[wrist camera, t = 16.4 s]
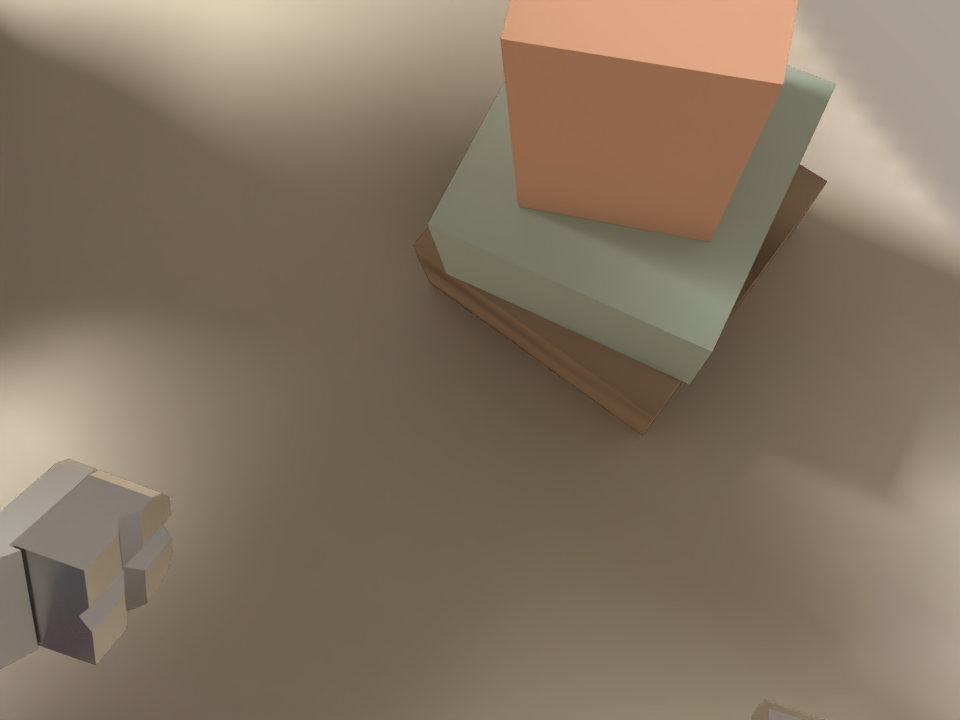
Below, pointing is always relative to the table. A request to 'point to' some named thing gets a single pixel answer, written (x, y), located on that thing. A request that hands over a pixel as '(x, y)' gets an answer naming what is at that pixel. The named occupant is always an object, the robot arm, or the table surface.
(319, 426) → the table surface
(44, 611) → the robot arm
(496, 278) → the tower top
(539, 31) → the terracotta block
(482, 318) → the tower base
